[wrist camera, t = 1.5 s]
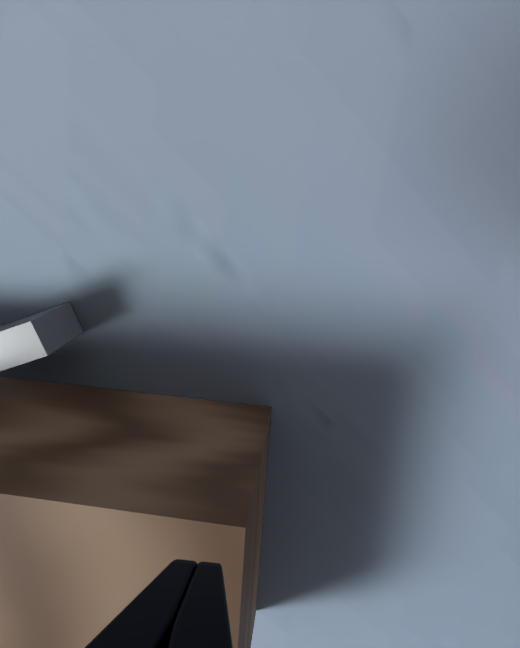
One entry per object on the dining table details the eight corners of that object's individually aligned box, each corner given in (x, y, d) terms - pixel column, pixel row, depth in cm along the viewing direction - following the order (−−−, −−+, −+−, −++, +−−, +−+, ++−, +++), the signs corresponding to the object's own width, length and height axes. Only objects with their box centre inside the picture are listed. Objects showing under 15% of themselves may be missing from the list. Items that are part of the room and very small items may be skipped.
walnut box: (272, 405, 22) (245, 527, 14) (256, 607, 25) (228, 790, 18) (-14, 372, 23) (-177, 468, 16) (10, 568, 27) (-113, 723, 19)
